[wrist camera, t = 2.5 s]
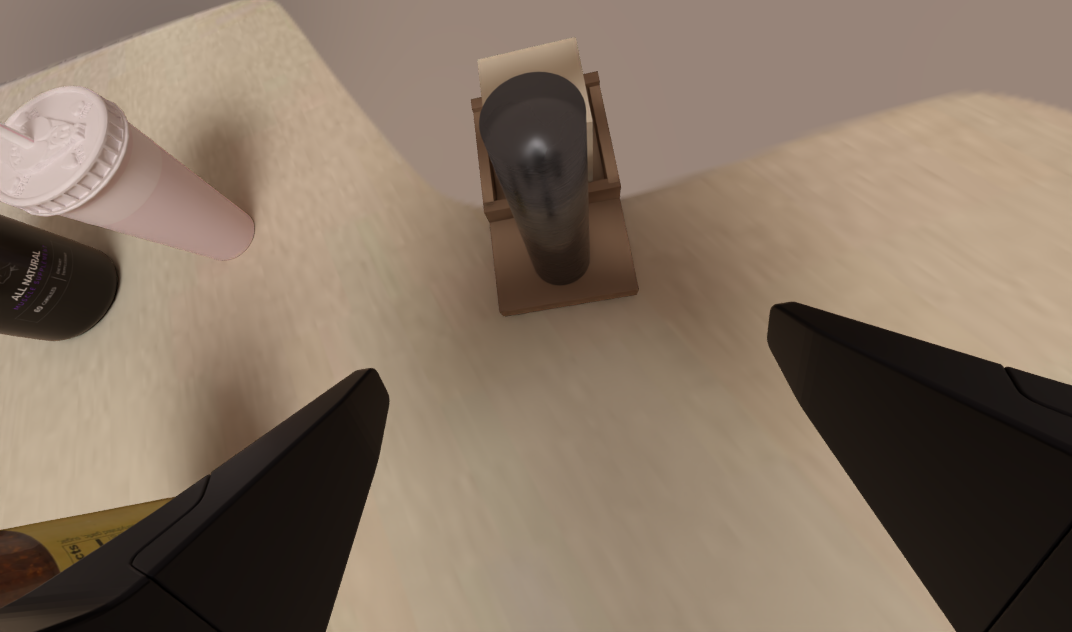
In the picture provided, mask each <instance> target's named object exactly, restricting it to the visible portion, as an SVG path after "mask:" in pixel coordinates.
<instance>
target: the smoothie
mask: <svg viewBox="0 0 1072 632" xmlns="http://www.w3.org/2000/svg"><path fill="white" fill-rule="evenodd" d="M0 201H2V202H3V203H6V204H9V205H11V206H14V207H17V208H20V209H22V210H24V211H26V212H28V213H30V214H32V215H38V216H45V217H47V216H54V215H60V216H64V217H67V218H70V219H74V220H77V221H81V222H84V223H87V224H91V225H95V226H99V227H103V228H106V229H110V230H113V231H117V232H120V233H124V234H127V235H131V236H135V237H138V238H142V239H145V240H149V241H152V242H156V243H160V244H163V245H167V246H170V247H174V248H177V249H181V250H185V251H188V252H192V253H195V254H199V255H202V256H206V257H210V258H213V259H217V260H222V261H225V260H230V259H233V258H235V257H237V256H239V255H240V254H242V253H243V252H244V251H245V250H246V249H247V248H248V246H249V245H250V243H251V241H252V239H253V236H254V223H253V220H252V218H251V217H250V216H249V215H248V214H247V213H245V212H244V211H243V210H242V209H240V208H239V207H238V206H236V205H235V204H234V203H232V202H231V201H230V200H229V199H227V198H226V197H225V196H223V195H222V194H221V193H220V192H218V191H217V190H216V189H214V188H213V187H212V186H210V185H209V184H208V183H207V182H205V181H204V180H203V179H201V178H200V177H199V176H198V175H196V174H195V173H194V172H192V171H191V170H190V169H188V168H187V167H186V166H185V165H183V164H182V163H181V162H179V161H178V160H177V159H176V158H174V157H173V156H172V155H170V154H169V153H168V152H166V151H165V150H164V149H163V148H161V147H160V146H159V145H157V144H156V143H155V142H154V141H153V140H151V139H150V138H149V137H147V136H146V135H145V134H143V133H142V132H141V131H139V130H138V129H137V128H135V127H134V126H133V125H131V124H130V123H129V122H128V121H127V118H126V116H125V114H124V112H123V111H122V110H121V109H120V108H119V107H118V106H117V105H116V104H115V103H114V102H111V101H109V100H106V99H105V98H103V97H102V96H100V95H99V94H97V93H95V92H94V91H92V90H90V89H88V88H86V87H81V86H62V87H58V88H53V89H50V90H48V91H45V92H43V93H41V94H39V95H37V96H35V97H34V98H32V99H30V100H29V101H27V102H26V103H25V104H23V105H22V106H21V107H19V108H18V109H17V110H16V111H15V112H14V113H13V114H12V115H11V116H10V117H9V118H8V119H7V121H6V122H5V123H4V124H3V123H1V122H0Z"/></svg>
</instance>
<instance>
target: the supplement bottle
mask: <svg viewBox="0 0 1072 632" xmlns="http://www.w3.org/2000/svg"><path fill="white" fill-rule="evenodd" d="M116 288H117V272H116V269H115V266H114V264H113V263H112V261H111V260H110V258H109V257H108V256H107V255H106V254H104V253H103V252H101V251H99V250H97V249H95V248H93V247H90V246H87V245H84V244H82V243H79V242H76V241H74V240H71V239H68V238H65V237H62V236H60V235H57V234H54V233H51V232H48V231H45V230H43V229H40V228H37V227H34V226H31V225H29V224H26V223H23V222H20V221H17V220H14V219H12V218H9V217H6V216H3V215H0V334H4V335H11V336H17V337H24V338H31V339H38V340H47V341H60V340H66V339H70V338H73V337H75V336H78V335H80V334H82V333H84V332H85V331H87V330H89V329H90V328H91V327H93V326H94V325H95V324H96V323H97V322H98V321H99V320H100V319H101V318H102V317H103V316H104V314H105V313H106V311H107V310H108V308H109V307H110V305H111V303H112V301H113V298H114V296H115V293H116Z"/></svg>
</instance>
